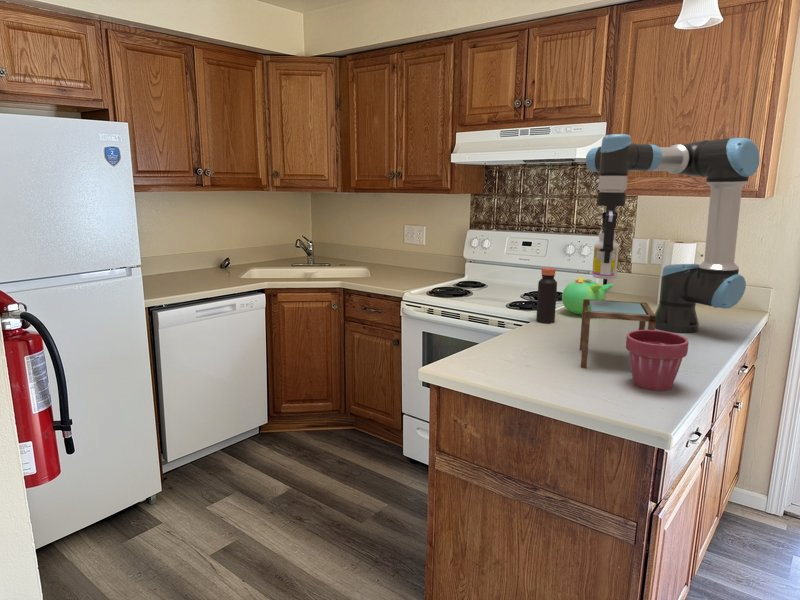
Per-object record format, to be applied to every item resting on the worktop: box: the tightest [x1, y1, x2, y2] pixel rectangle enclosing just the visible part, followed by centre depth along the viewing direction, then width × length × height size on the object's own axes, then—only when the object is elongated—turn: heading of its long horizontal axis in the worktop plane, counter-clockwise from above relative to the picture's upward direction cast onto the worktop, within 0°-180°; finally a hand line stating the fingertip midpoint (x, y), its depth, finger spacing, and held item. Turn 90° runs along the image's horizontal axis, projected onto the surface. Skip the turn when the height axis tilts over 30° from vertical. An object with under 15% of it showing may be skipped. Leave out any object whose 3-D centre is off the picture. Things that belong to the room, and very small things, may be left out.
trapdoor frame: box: [579, 299, 656, 369], centre depth 159 cm, size 18×19×16 cm
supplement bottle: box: [592, 232, 620, 280], centre depth 158 cm, size 7×7×13 cm
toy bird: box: [561, 276, 614, 316], centre depth 217 cm, size 18×17×15 cm
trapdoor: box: [590, 300, 647, 315], centre depth 157 cm, size 14×15×1 cm
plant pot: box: [625, 329, 689, 392], centre depth 140 cm, size 14×14×13 cm
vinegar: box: [535, 267, 558, 324], centre depth 204 cm, size 7×7×20 cm
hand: (604, 272), depth 159 cm, fingers closed on supplement bottle, 7 cm apart
